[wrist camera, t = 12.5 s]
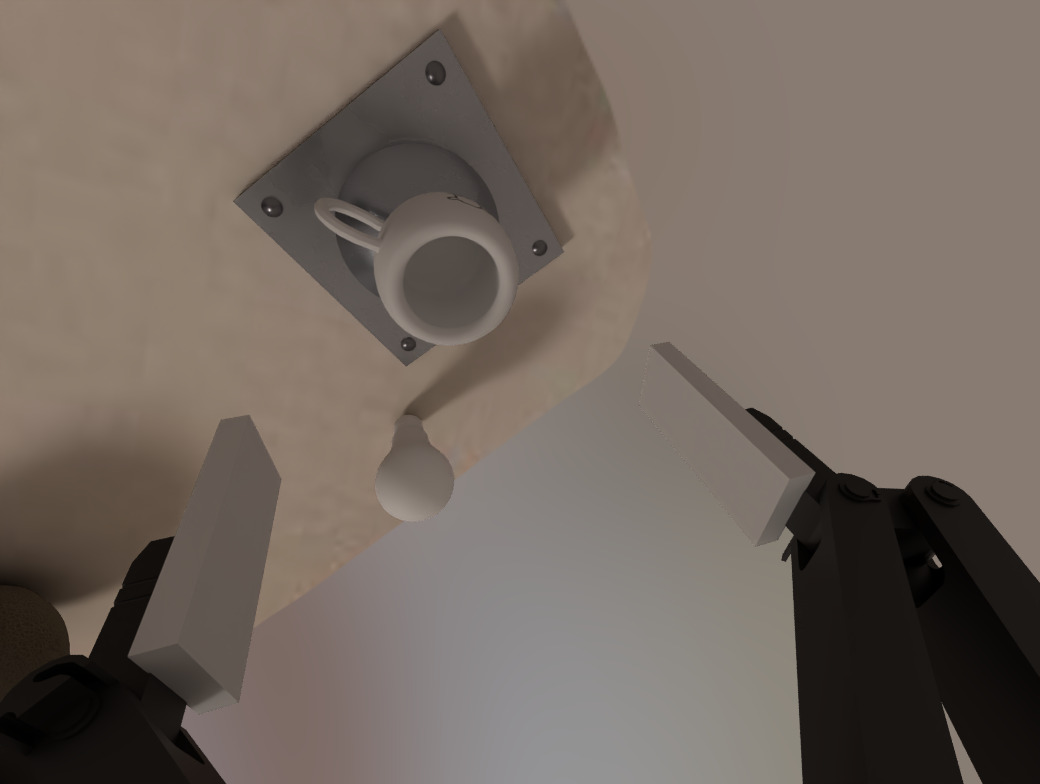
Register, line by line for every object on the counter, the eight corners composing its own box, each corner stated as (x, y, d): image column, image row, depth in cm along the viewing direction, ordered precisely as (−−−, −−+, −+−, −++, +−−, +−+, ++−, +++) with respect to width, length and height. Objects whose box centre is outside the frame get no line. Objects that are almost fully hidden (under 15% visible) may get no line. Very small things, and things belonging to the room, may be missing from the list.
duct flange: (235, 198, 28) (228, 206, 26) (438, 29, 26) (443, 26, 24) (405, 361, 38) (407, 374, 36) (560, 248, 36) (569, 256, 34)
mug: (515, 216, 31) (552, 252, 25) (463, 317, 35) (485, 370, 29) (341, 119, 25) (335, 136, 19) (299, 252, 29) (282, 302, 23)
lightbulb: (441, 440, 44) (460, 530, 35) (377, 448, 42) (380, 545, 34) (439, 390, 40) (459, 476, 32) (369, 397, 39) (371, 489, 30)
